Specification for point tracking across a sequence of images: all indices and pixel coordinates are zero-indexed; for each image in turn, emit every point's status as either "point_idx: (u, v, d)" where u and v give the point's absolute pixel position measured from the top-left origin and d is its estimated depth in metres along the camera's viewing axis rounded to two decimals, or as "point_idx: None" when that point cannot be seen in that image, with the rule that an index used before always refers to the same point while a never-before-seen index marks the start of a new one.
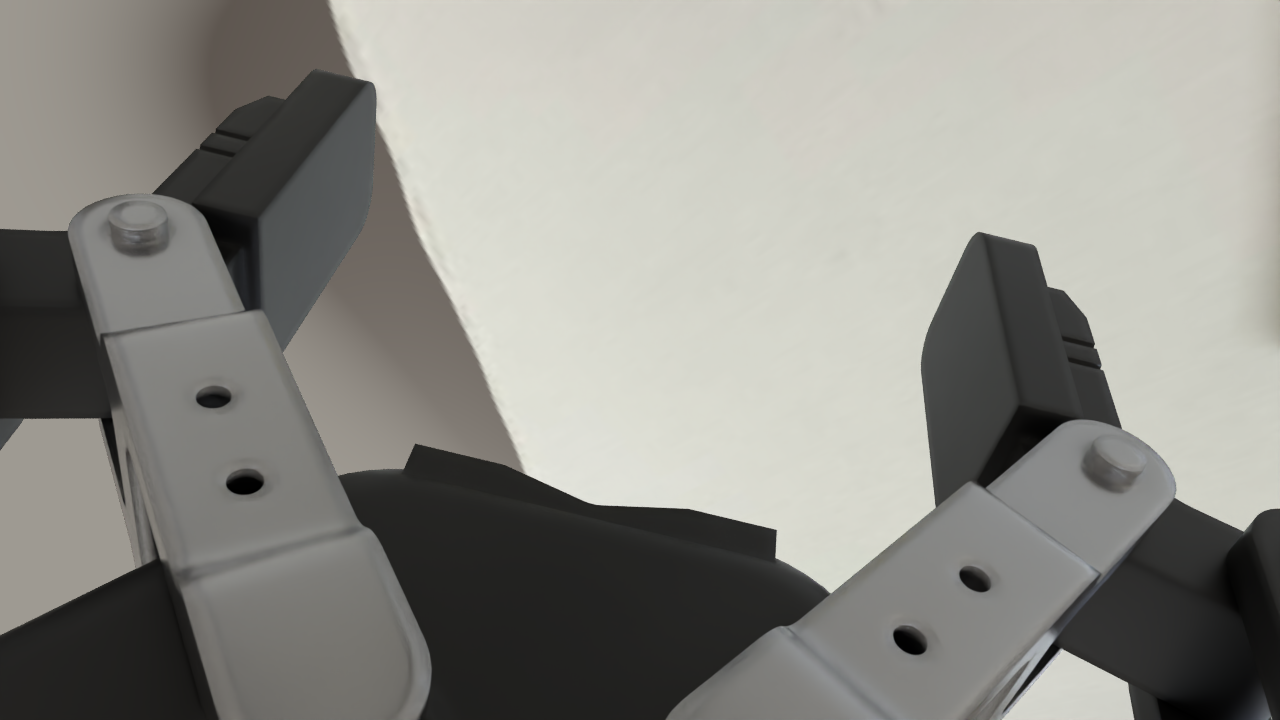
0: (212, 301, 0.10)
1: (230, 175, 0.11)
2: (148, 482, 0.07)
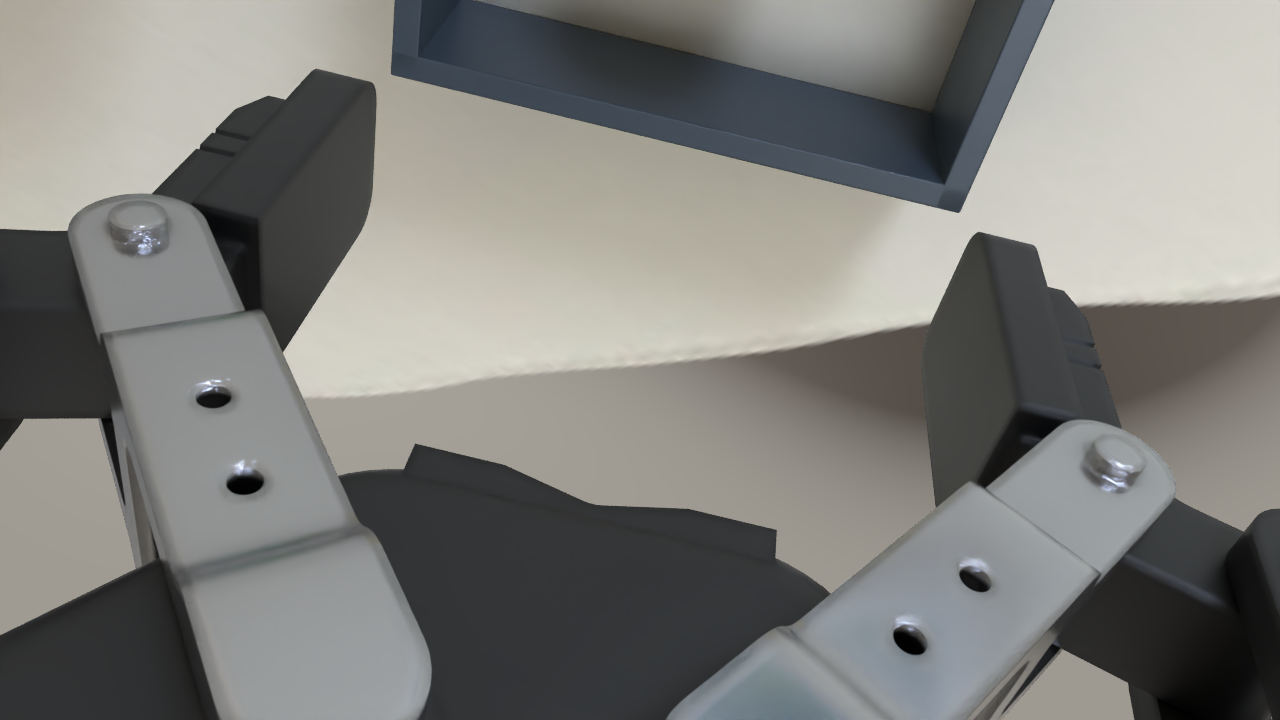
0: (212, 301, 0.10)
1: (230, 175, 0.11)
2: (148, 482, 0.07)
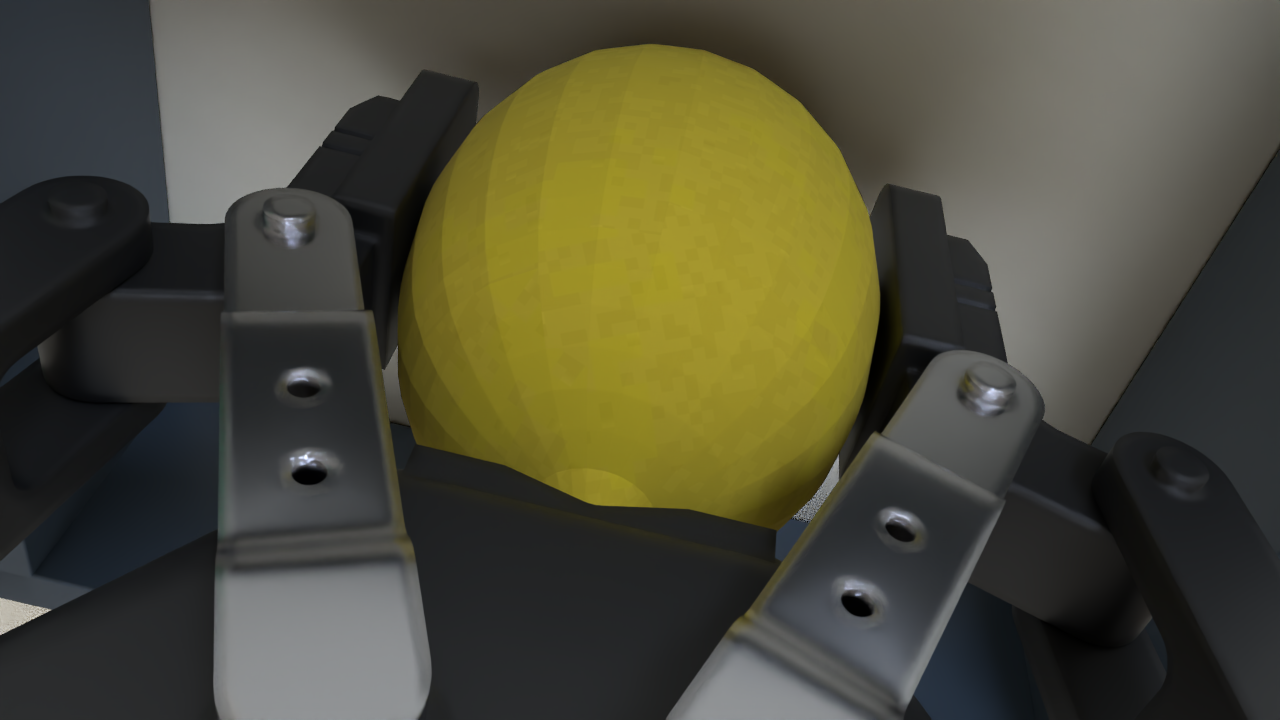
0: (336, 297, 0.10)
1: (362, 171, 0.12)
2: (220, 457, 0.08)
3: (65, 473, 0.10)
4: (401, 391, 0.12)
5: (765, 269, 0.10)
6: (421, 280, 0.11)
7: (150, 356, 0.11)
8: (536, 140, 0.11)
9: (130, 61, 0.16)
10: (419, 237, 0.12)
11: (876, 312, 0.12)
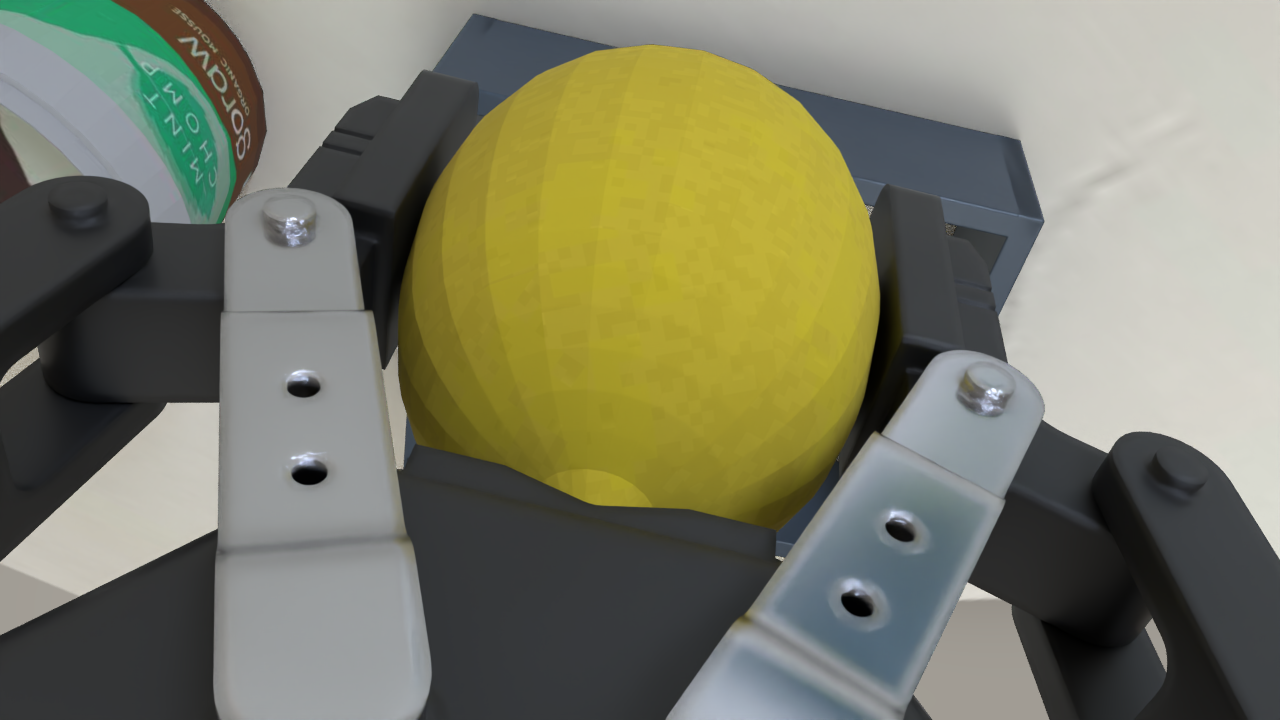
0: (336, 297, 0.10)
1: (362, 171, 0.12)
2: (220, 457, 0.08)
3: (67, 473, 0.10)
4: (401, 392, 0.12)
5: (766, 269, 0.10)
6: (422, 282, 0.11)
7: (150, 356, 0.11)
8: (536, 141, 0.11)
9: None
10: (419, 238, 0.12)
11: (876, 313, 0.12)
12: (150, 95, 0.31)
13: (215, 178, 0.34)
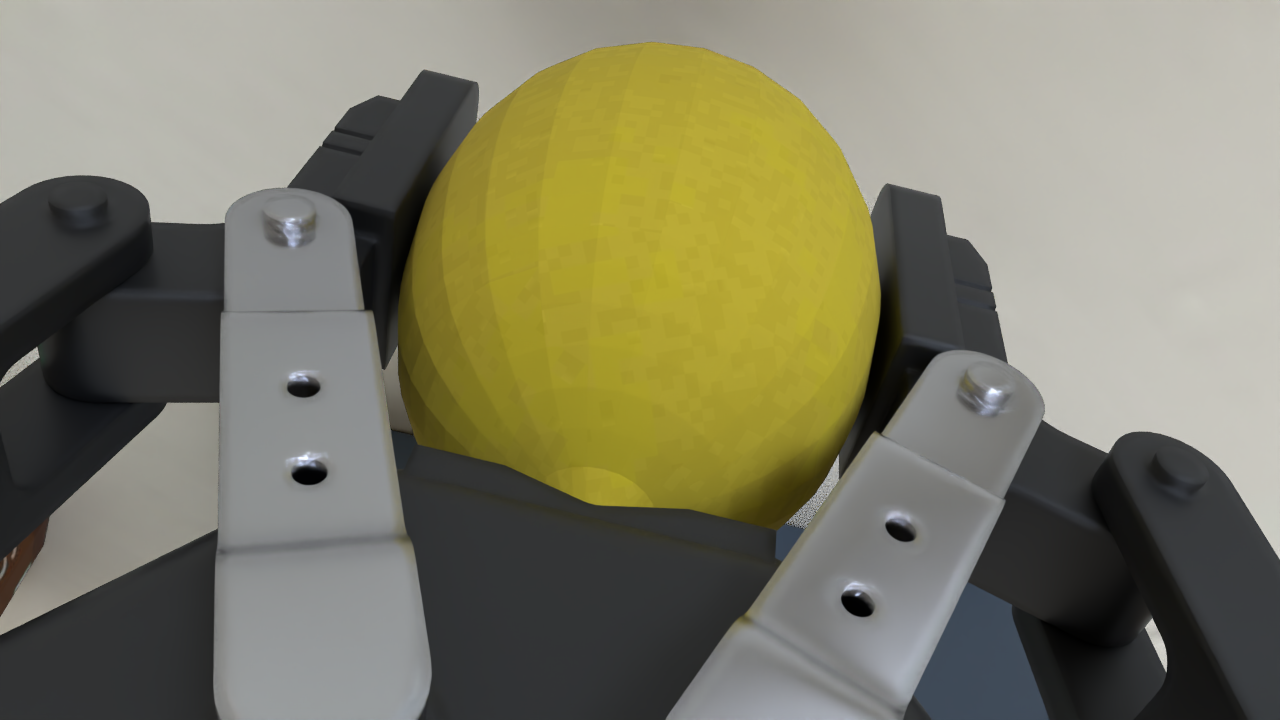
0: (336, 297, 0.10)
1: (362, 171, 0.12)
2: (220, 457, 0.08)
3: (65, 473, 0.10)
4: (401, 389, 0.11)
5: (765, 267, 0.10)
6: (421, 279, 0.11)
7: (150, 356, 0.11)
8: (537, 138, 0.11)
9: None
10: (419, 235, 0.12)
11: (877, 310, 0.12)
12: None
13: None
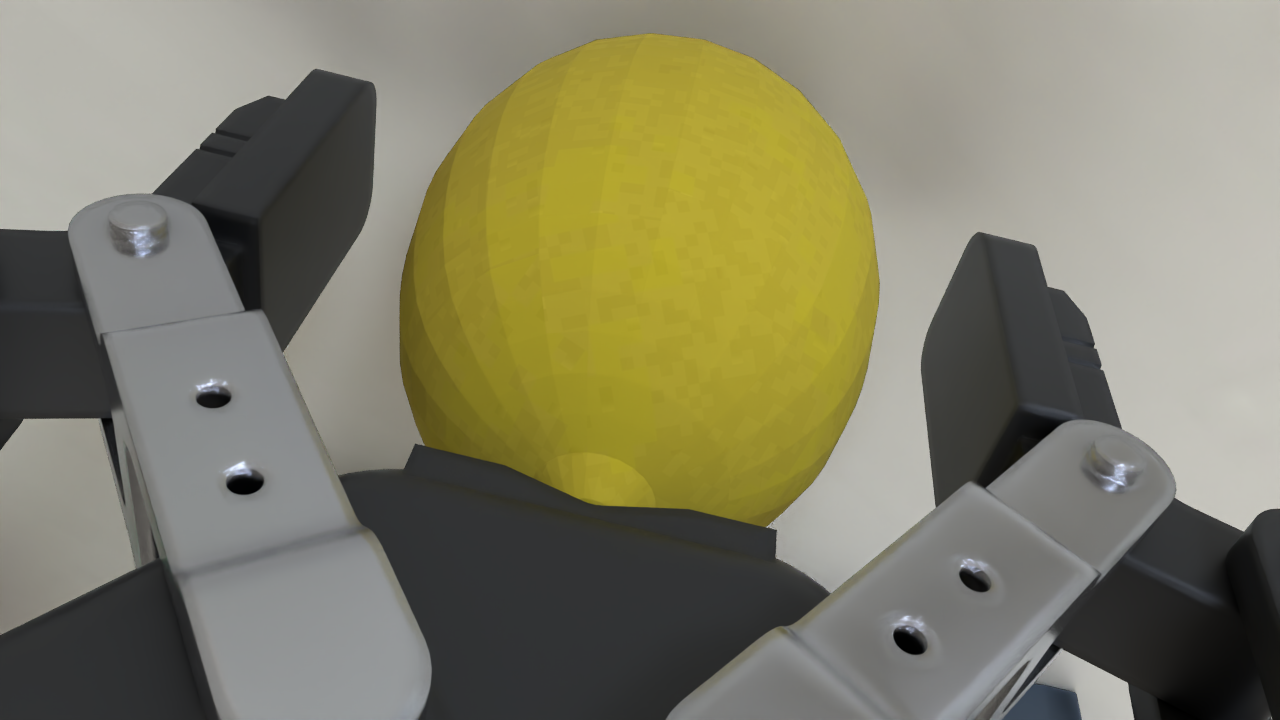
0: (212, 301, 0.10)
1: (230, 175, 0.11)
2: (148, 482, 0.07)
3: None
4: (403, 377, 0.12)
5: (764, 255, 0.10)
6: (423, 266, 0.11)
7: None
8: (537, 127, 0.11)
9: None
10: (421, 224, 0.12)
11: (875, 300, 0.12)
12: None
13: None
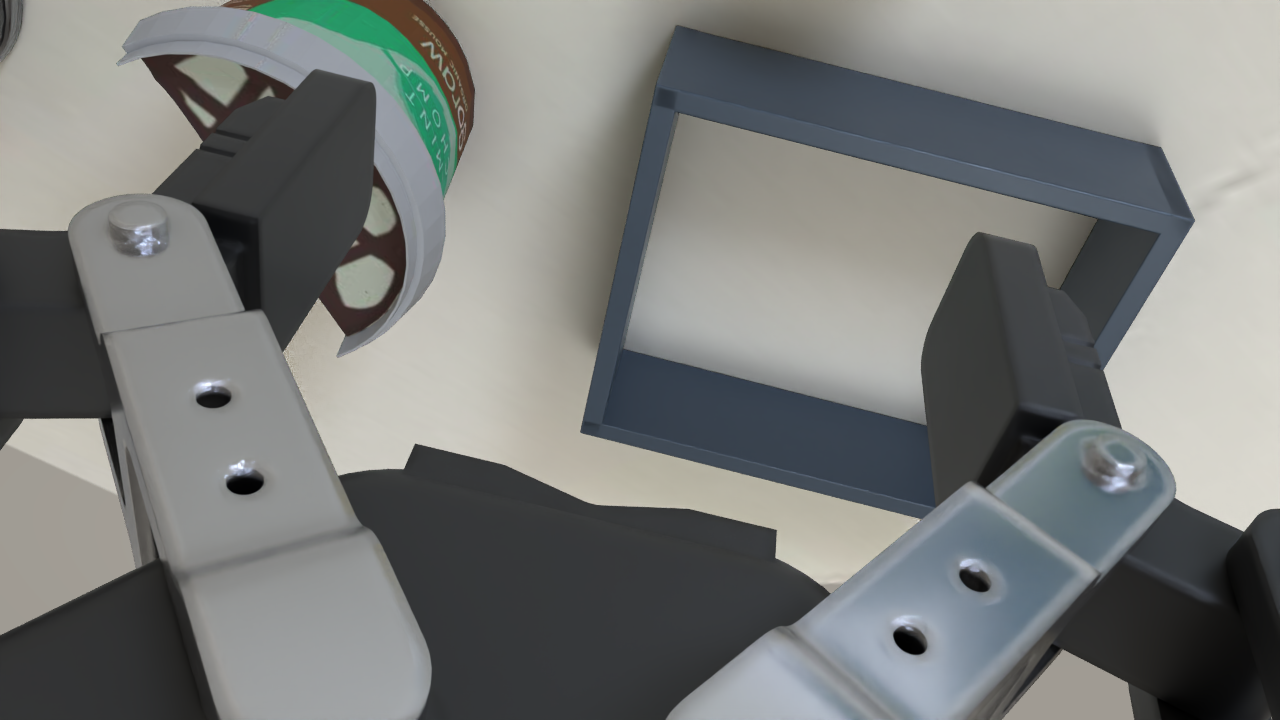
0: (212, 301, 0.10)
1: (230, 175, 0.11)
2: (148, 482, 0.07)
3: None
4: None
5: None
6: None
7: None
8: None
9: None
10: None
11: None
12: (409, 93, 0.35)
13: (448, 167, 0.38)
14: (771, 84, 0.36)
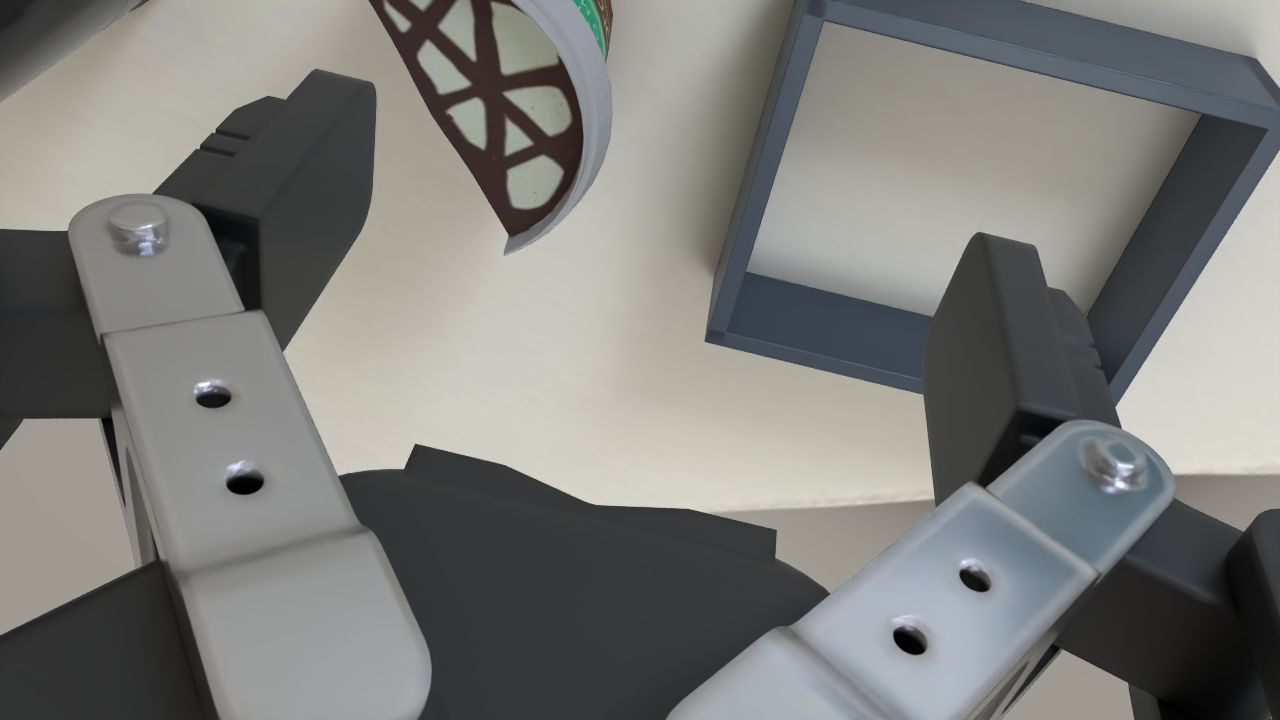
0: (212, 301, 0.10)
1: (230, 175, 0.11)
2: (148, 482, 0.07)
3: None
4: None
5: None
6: None
7: None
8: None
9: None
10: None
11: None
12: (577, 6, 0.38)
13: None
14: None
